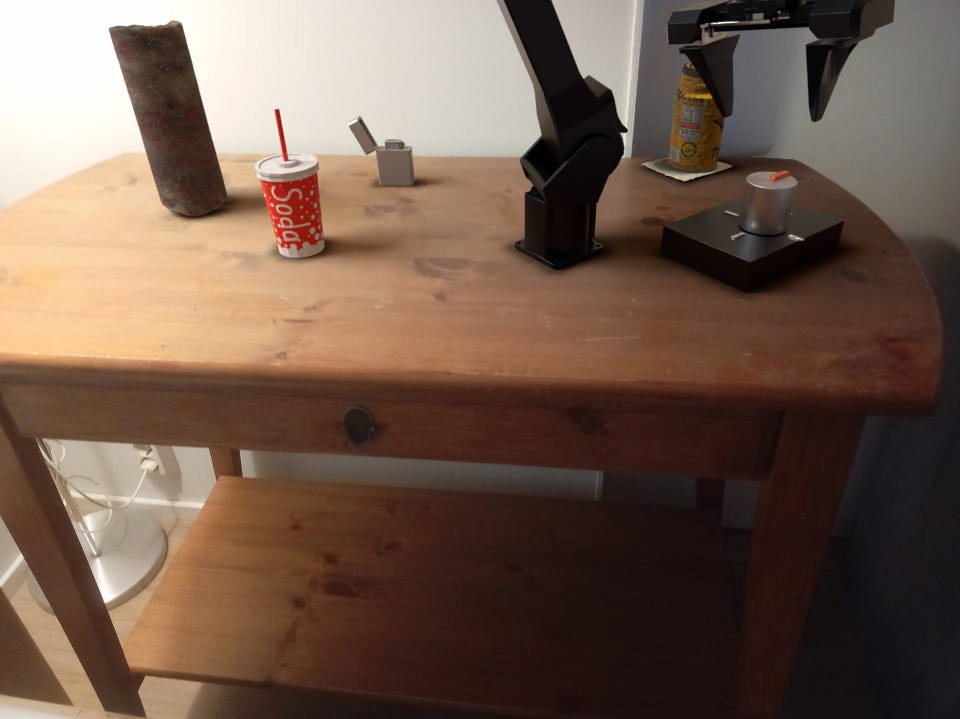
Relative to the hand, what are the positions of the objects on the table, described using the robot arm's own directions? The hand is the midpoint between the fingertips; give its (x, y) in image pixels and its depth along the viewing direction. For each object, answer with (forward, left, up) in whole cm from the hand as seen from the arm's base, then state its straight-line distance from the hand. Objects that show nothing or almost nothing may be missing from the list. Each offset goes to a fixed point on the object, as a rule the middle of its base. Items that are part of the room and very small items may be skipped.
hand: (769, 118), depth 69 cm
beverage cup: (-37, +27, -12) cm, 47 cm away
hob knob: (-3, -3, -9) cm, 10 cm away
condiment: (+11, +18, -12) cm, 24 cm away
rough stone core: (-42, +46, -12) cm, 63 cm away
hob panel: (-3, -2, -12) cm, 12 cm away
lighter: (-21, +38, -12) cm, 45 cm away
